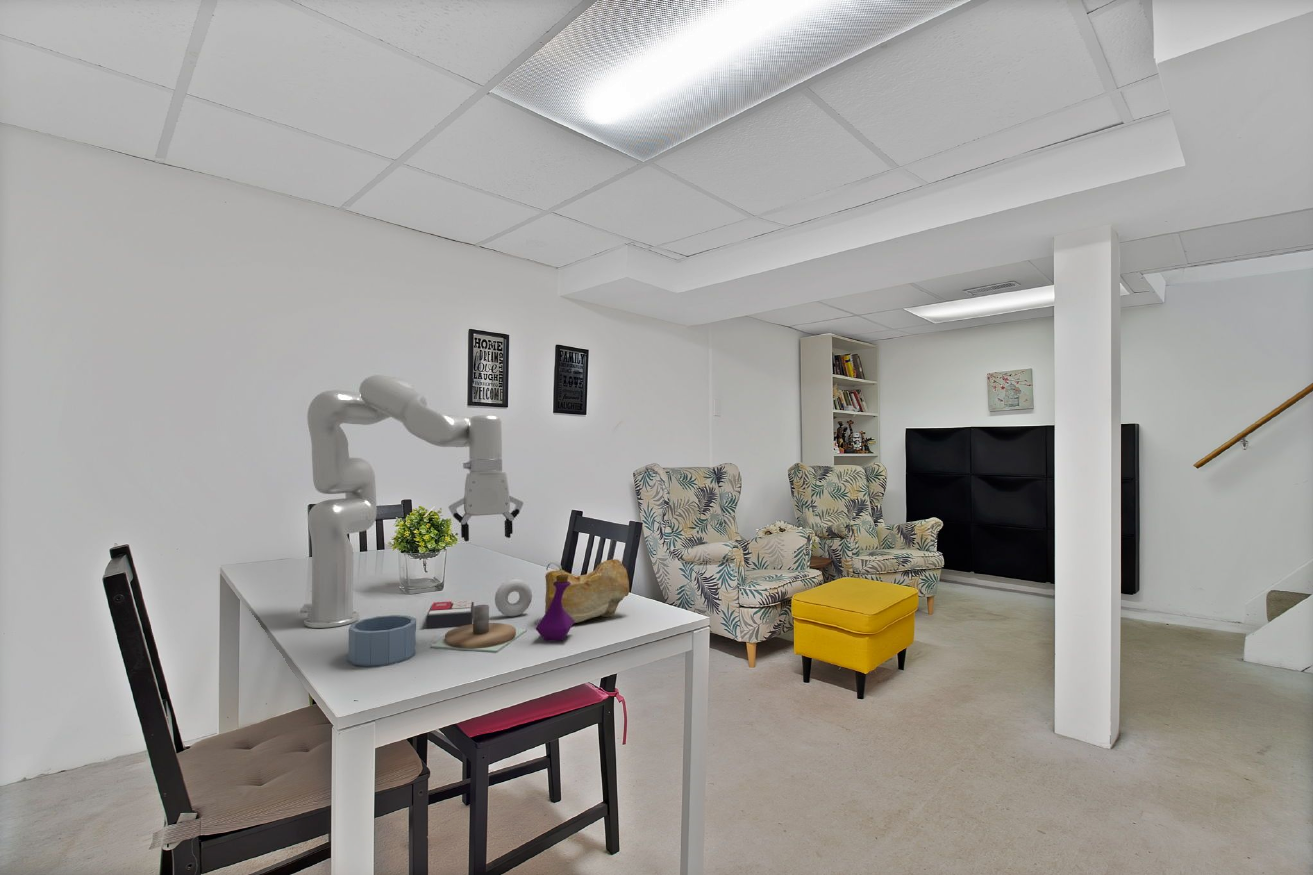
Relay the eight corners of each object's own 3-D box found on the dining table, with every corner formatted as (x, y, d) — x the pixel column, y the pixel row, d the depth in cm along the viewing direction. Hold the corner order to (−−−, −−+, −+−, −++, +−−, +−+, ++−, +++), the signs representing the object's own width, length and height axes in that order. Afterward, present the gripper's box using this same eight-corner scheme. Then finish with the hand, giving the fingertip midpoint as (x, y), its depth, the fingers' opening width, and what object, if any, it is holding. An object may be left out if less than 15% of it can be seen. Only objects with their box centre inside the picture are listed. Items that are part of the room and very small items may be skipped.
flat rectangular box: (473, 598, 168) (472, 609, 153) (473, 614, 167) (472, 626, 153) (431, 601, 165) (426, 612, 150) (431, 617, 164) (426, 630, 150)
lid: (430, 645, 136) (431, 613, 136) (466, 625, 151) (467, 597, 152) (496, 650, 132) (496, 617, 133) (526, 629, 148) (526, 600, 148)
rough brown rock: (611, 606, 175) (608, 554, 176) (636, 615, 160) (632, 558, 161) (532, 620, 164) (529, 564, 165) (551, 630, 149) (547, 569, 150)
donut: (496, 620, 158) (496, 581, 158) (493, 617, 161) (493, 579, 161) (533, 615, 163) (533, 578, 163) (529, 612, 166) (529, 575, 166)
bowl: (335, 664, 125) (335, 630, 125) (376, 644, 138) (376, 613, 138) (390, 668, 123) (391, 634, 123) (427, 648, 135) (427, 616, 135)
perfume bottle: (574, 634, 146) (574, 559, 146) (567, 643, 138) (567, 564, 139) (544, 633, 147) (544, 558, 147) (535, 642, 139) (535, 564, 140)
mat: (430, 647, 136) (430, 645, 136) (466, 627, 151) (466, 625, 151) (496, 652, 132) (496, 650, 132) (526, 631, 148) (526, 629, 148)
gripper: (450, 468, 137) (451, 544, 137) (525, 466, 145) (527, 537, 144) (446, 468, 144) (447, 540, 143) (518, 466, 152) (519, 534, 151)
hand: (487, 538), depth 144 cm, fingers open, 9 cm apart
